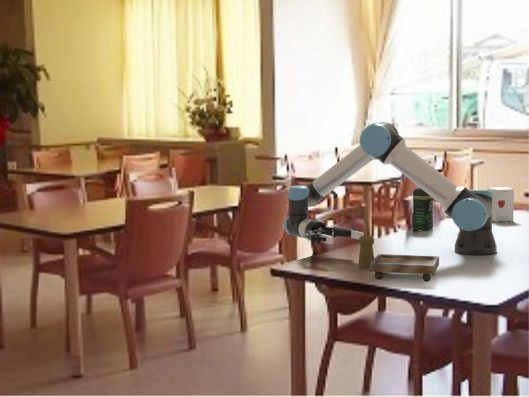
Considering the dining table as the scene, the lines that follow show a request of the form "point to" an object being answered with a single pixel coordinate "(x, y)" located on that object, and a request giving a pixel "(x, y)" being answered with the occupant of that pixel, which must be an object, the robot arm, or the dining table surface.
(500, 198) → the supplement box
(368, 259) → the cork
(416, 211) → the coffee jar
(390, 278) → the dining table surface
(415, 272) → the cart
